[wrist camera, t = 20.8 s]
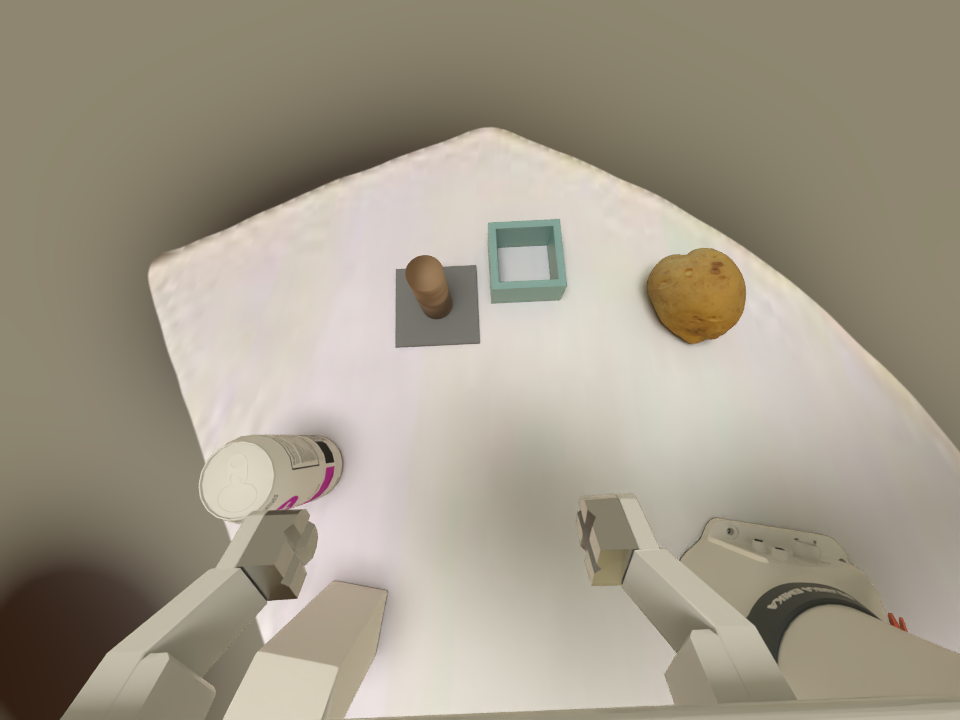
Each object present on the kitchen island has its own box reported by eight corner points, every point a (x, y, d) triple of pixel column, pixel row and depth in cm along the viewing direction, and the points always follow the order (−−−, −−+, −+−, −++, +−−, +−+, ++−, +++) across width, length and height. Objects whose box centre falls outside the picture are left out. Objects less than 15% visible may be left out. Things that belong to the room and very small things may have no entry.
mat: (476, 266, 53) (475, 265, 52) (479, 343, 50) (479, 342, 50) (396, 270, 53) (396, 269, 53) (396, 347, 50) (395, 346, 50)
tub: (553, 238, 54) (559, 219, 49) (559, 300, 52) (566, 285, 47) (487, 242, 54) (488, 222, 49) (491, 303, 52) (491, 289, 47)
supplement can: (346, 494, 46) (281, 520, 32) (283, 502, 46) (189, 533, 32) (343, 432, 48) (280, 429, 33) (283, 440, 48) (193, 441, 33)
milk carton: (333, 579, 44) (222, 683, 26) (388, 589, 44) (316, 702, 25) (319, 644, 43) (190, 803, 24) (376, 655, 42) (289, 825, 24)
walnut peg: (452, 289, 52) (443, 254, 42) (452, 318, 51) (442, 289, 41) (422, 290, 52) (405, 255, 42) (421, 319, 51) (404, 290, 41)
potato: (673, 360, 49) (719, 341, 40) (623, 287, 52) (655, 253, 42) (732, 327, 50) (791, 301, 40) (681, 257, 53) (725, 216, 43)
